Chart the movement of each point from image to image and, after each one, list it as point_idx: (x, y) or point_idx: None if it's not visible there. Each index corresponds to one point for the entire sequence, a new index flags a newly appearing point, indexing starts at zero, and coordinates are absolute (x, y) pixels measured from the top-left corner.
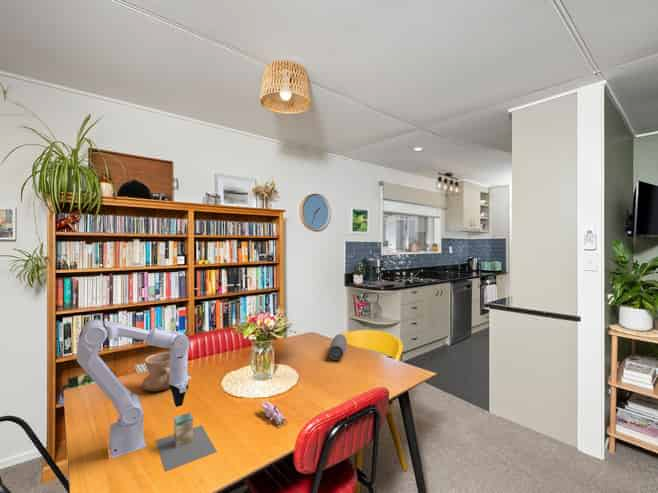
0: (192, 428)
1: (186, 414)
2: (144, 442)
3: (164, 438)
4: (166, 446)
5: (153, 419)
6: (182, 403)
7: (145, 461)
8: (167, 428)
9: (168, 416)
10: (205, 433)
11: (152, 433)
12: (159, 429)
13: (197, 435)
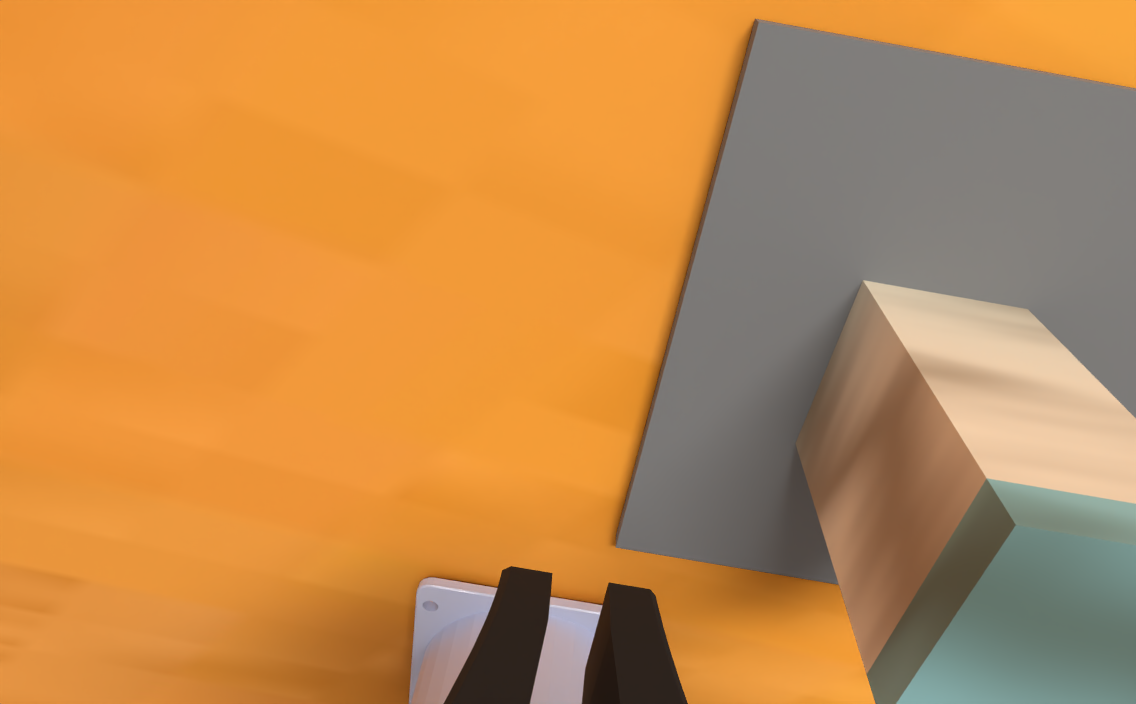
0: (1132, 425)
1: (1010, 590)
2: (578, 613)
3: (656, 488)
4: None
5: (112, 413)
6: (663, 628)
7: (847, 657)
8: (432, 379)
9: (118, 270)
10: (1037, 89)
11: (429, 505)
12: (393, 440)
13: (962, 204)
